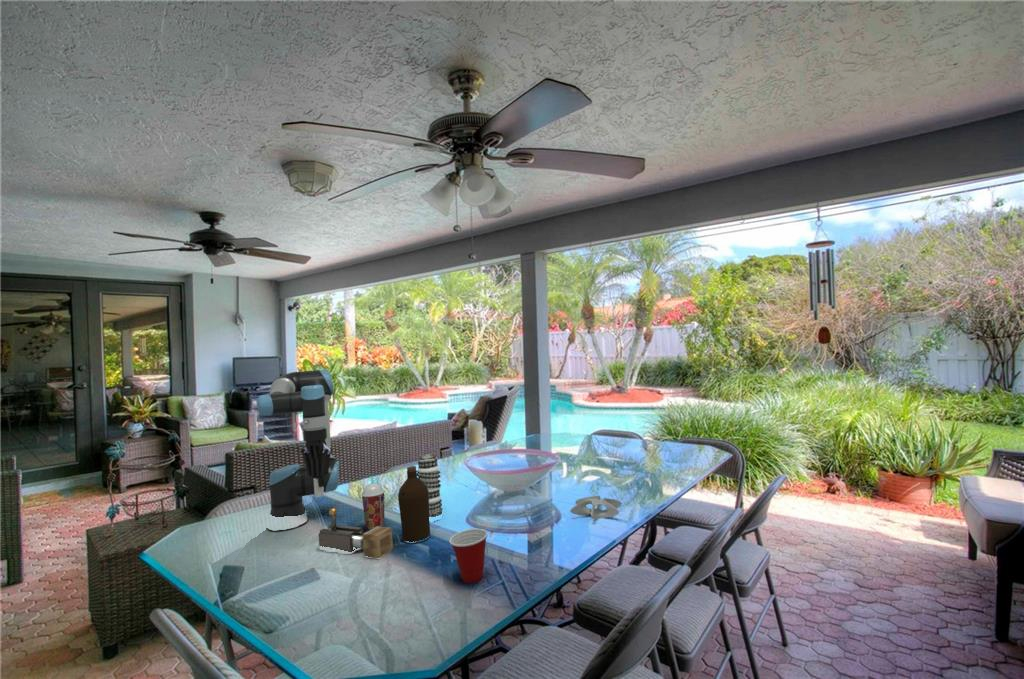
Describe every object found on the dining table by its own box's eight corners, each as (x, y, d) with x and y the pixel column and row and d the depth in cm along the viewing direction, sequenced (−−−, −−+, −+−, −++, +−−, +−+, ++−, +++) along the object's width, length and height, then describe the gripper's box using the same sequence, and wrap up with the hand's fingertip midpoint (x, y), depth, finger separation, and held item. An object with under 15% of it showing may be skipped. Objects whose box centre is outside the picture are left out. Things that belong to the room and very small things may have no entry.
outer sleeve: (319, 550, 158) (318, 530, 158) (333, 543, 164) (332, 524, 164) (350, 555, 152) (349, 534, 152) (364, 547, 158) (363, 527, 158)
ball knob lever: (324, 545, 159) (322, 509, 159) (333, 541, 162) (330, 505, 163) (360, 550, 152) (357, 512, 153) (368, 545, 156) (365, 508, 156)
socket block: (364, 557, 149) (362, 534, 150) (378, 548, 156) (377, 526, 156) (378, 559, 147) (377, 535, 147) (393, 550, 153) (391, 527, 154)
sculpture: (604, 529, 157) (602, 510, 157) (560, 517, 172) (559, 499, 172) (633, 514, 168) (632, 496, 169) (590, 504, 183) (589, 488, 184)
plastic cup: (449, 574, 133) (446, 532, 133) (486, 566, 136) (482, 525, 136) (455, 591, 122) (452, 545, 123) (495, 582, 125) (491, 538, 126)
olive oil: (428, 543, 157) (423, 469, 158) (397, 545, 157) (392, 471, 158) (434, 531, 167) (429, 462, 168) (405, 533, 167) (400, 464, 168)
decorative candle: (415, 522, 178) (410, 457, 179) (428, 514, 187) (423, 452, 188) (435, 524, 175) (430, 457, 176) (448, 515, 183) (443, 452, 184)
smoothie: (391, 526, 177) (387, 473, 178) (376, 534, 169) (372, 479, 170) (374, 524, 180) (371, 472, 181) (359, 532, 173) (355, 478, 173)
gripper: (292, 431, 162) (297, 498, 161) (320, 430, 157) (324, 500, 156) (310, 427, 169) (314, 492, 168) (336, 426, 164) (341, 493, 163)
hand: (319, 496), depth 162 cm, fingers closed
